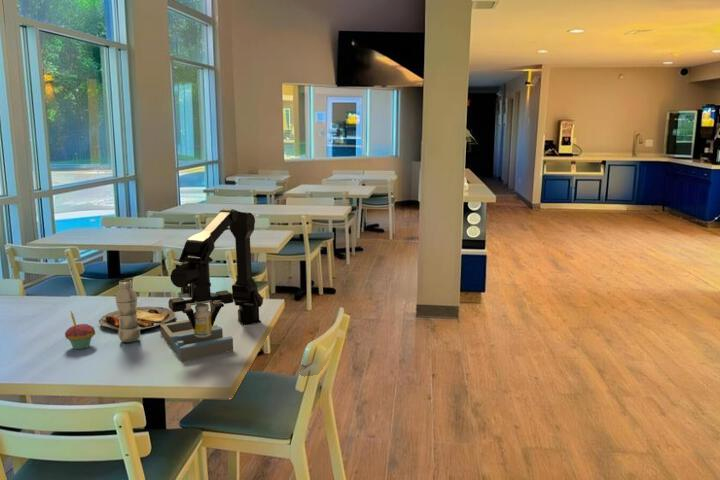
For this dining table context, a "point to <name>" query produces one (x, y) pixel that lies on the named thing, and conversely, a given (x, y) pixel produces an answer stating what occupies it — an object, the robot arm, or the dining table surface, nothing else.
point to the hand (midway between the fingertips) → (202, 327)
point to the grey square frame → (194, 340)
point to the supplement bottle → (202, 321)
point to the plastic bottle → (127, 312)
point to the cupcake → (79, 334)
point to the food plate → (140, 317)
